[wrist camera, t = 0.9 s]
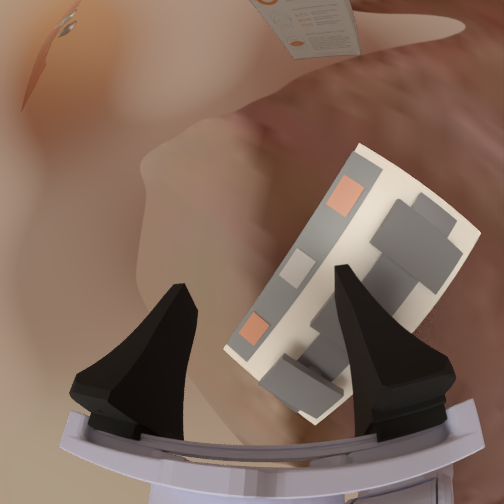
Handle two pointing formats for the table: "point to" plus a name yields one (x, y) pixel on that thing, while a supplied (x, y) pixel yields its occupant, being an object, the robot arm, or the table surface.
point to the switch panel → (338, 253)
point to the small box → (312, 26)
